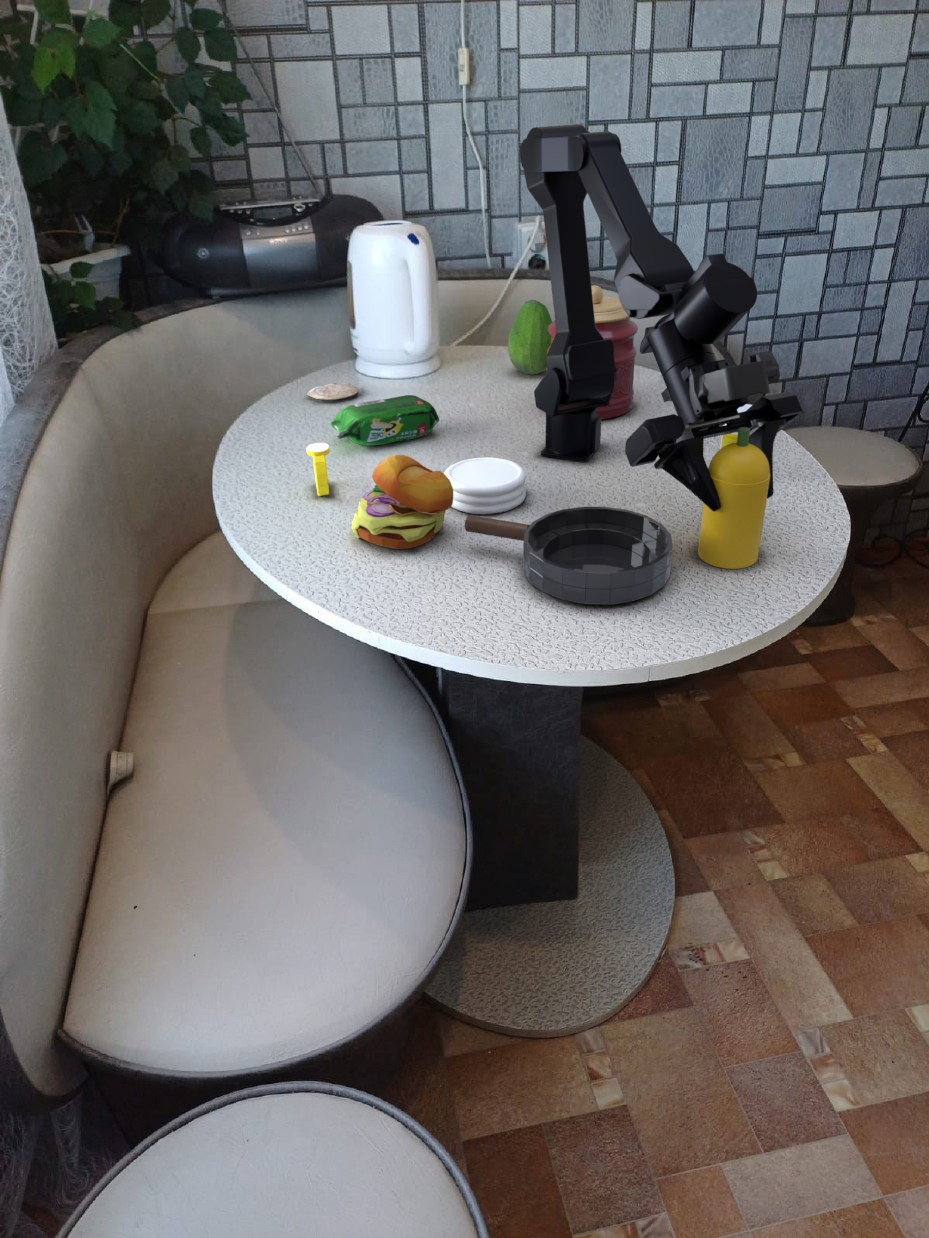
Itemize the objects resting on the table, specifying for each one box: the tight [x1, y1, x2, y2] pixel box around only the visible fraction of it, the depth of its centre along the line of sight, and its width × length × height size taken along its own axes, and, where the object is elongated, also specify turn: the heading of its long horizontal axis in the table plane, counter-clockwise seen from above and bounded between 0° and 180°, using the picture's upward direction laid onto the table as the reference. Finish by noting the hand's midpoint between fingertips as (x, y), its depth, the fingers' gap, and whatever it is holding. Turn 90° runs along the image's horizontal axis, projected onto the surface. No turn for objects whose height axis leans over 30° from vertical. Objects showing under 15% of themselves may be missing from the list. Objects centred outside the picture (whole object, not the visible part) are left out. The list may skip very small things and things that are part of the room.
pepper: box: [697, 427, 770, 570], centre depth 96 cm, size 6×6×14 cm
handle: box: [464, 514, 530, 542], centre depth 100 cm, size 7×2×2 cm, turn 66°
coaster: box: [443, 457, 527, 515], centre depth 113 cm, size 10×10×4 cm
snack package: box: [330, 394, 440, 447], centre depth 131 cm, size 7×16×5 cm, turn 115°
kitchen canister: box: [547, 284, 639, 420], centre depth 136 cm, size 13×13×18 cm
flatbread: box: [306, 382, 360, 401], centre depth 149 cm, size 8×8×1 cm
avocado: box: [507, 299, 553, 376], centre depth 153 cm, size 8×8×12 cm
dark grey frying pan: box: [522, 506, 674, 606], centre depth 97 cm, size 15×15×4 cm
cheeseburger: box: [351, 454, 453, 550], centre depth 105 cm, size 10×11×10 cm
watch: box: [305, 442, 331, 497], centre depth 116 cm, size 6×3×6 cm, turn 11°
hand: (743, 503), depth 95 cm, fingers closed on pepper, 6 cm apart
